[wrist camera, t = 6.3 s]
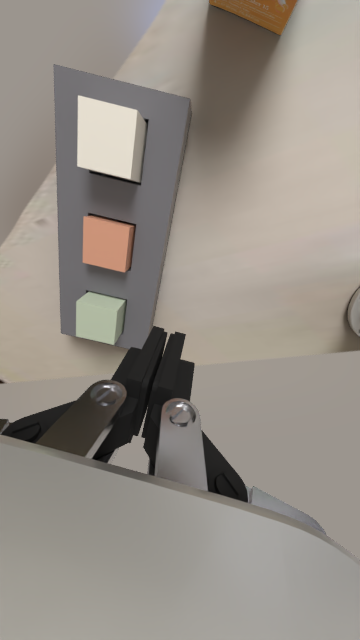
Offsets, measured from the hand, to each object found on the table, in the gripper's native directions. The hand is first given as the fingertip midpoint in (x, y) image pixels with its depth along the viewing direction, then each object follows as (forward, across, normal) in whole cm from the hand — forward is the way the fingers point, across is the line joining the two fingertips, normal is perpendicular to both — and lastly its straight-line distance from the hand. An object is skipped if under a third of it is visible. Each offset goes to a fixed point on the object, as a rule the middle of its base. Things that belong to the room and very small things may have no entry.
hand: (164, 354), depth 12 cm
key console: (+25, +12, 0) cm, 27 cm away
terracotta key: (+24, +12, 0) cm, 27 cm away
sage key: (+22, +12, +10) cm, 27 cm away
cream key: (+22, +12, -10) cm, 27 cm away
